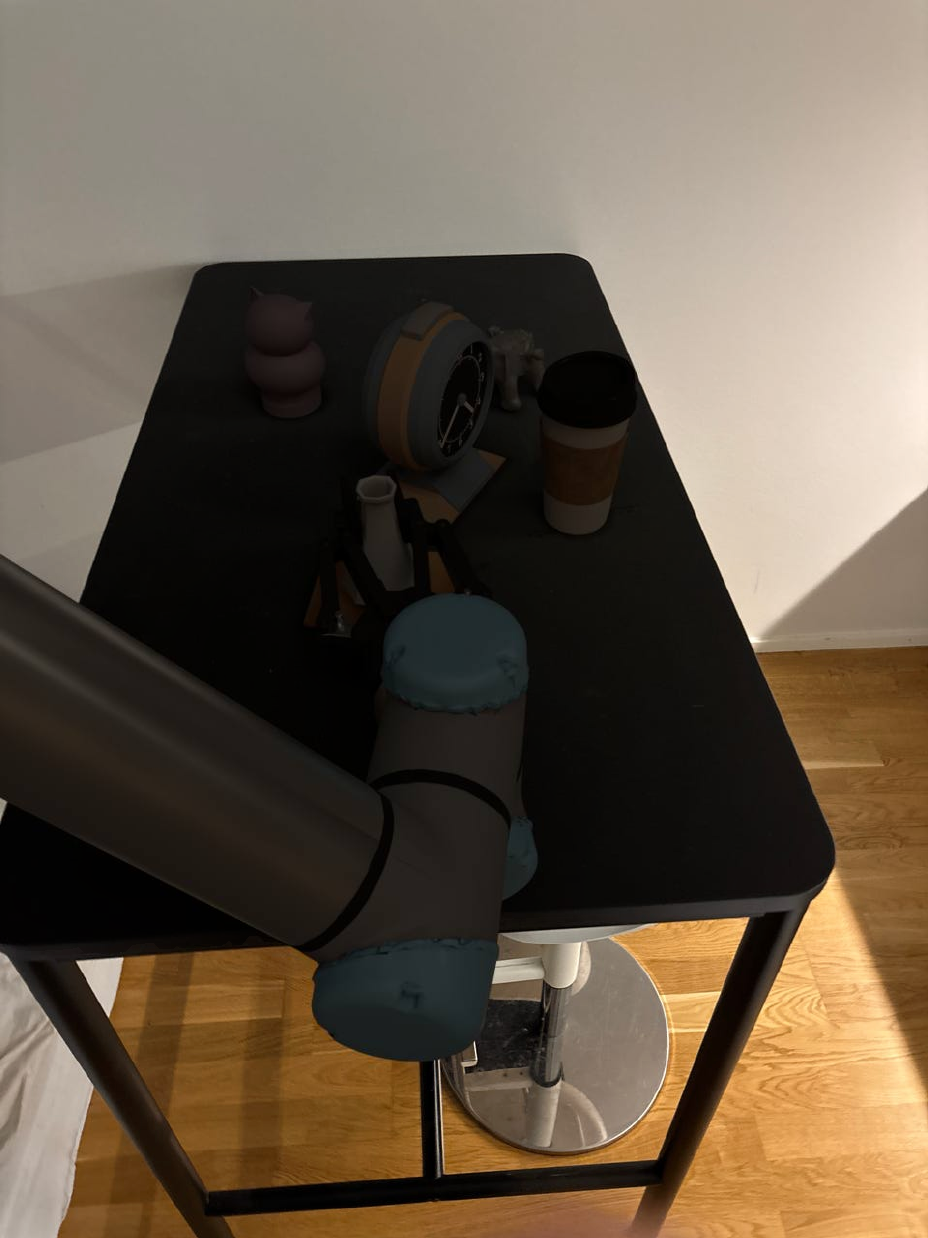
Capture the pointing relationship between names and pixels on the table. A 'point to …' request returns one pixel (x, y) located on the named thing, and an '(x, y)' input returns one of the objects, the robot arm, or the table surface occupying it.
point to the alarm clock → (432, 407)
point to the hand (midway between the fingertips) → (368, 486)
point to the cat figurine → (283, 354)
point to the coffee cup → (583, 436)
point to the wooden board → (353, 611)
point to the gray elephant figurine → (514, 362)
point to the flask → (382, 537)
